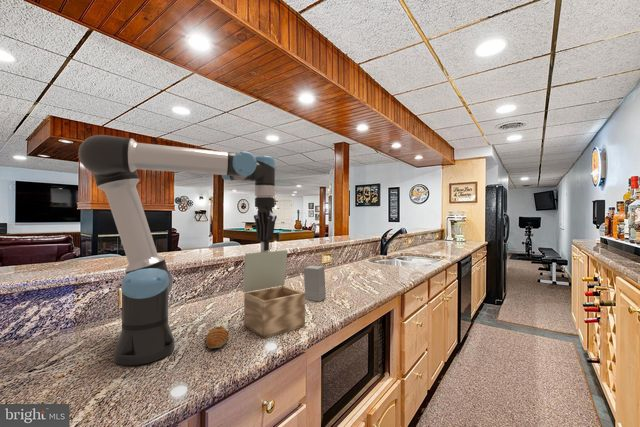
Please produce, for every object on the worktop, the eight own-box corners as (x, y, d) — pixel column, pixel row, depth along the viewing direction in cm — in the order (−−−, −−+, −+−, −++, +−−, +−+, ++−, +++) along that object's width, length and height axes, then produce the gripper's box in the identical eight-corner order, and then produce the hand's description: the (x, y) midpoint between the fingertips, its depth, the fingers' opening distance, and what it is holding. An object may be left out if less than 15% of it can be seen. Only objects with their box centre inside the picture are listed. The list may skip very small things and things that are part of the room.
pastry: (226, 349, 89) (227, 336, 89) (202, 351, 87) (203, 338, 87) (228, 336, 98) (229, 325, 98) (206, 338, 96) (207, 326, 96)
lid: (246, 254, 106) (244, 252, 107) (243, 292, 107) (241, 291, 109) (287, 250, 117) (285, 249, 119) (284, 285, 119) (282, 283, 120)
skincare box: (326, 299, 143) (326, 266, 143) (318, 302, 137) (318, 268, 137) (311, 296, 148) (311, 264, 148) (303, 299, 141) (303, 266, 142)
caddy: (263, 338, 97) (263, 302, 97) (244, 326, 108) (244, 293, 108) (304, 326, 108) (305, 293, 108) (283, 316, 119) (283, 286, 119)
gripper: (282, 197, 111) (282, 259, 111) (264, 198, 121) (264, 255, 121) (265, 196, 106) (265, 262, 106) (247, 197, 116) (247, 257, 116)
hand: (264, 258), depth 114 cm, fingers closed
